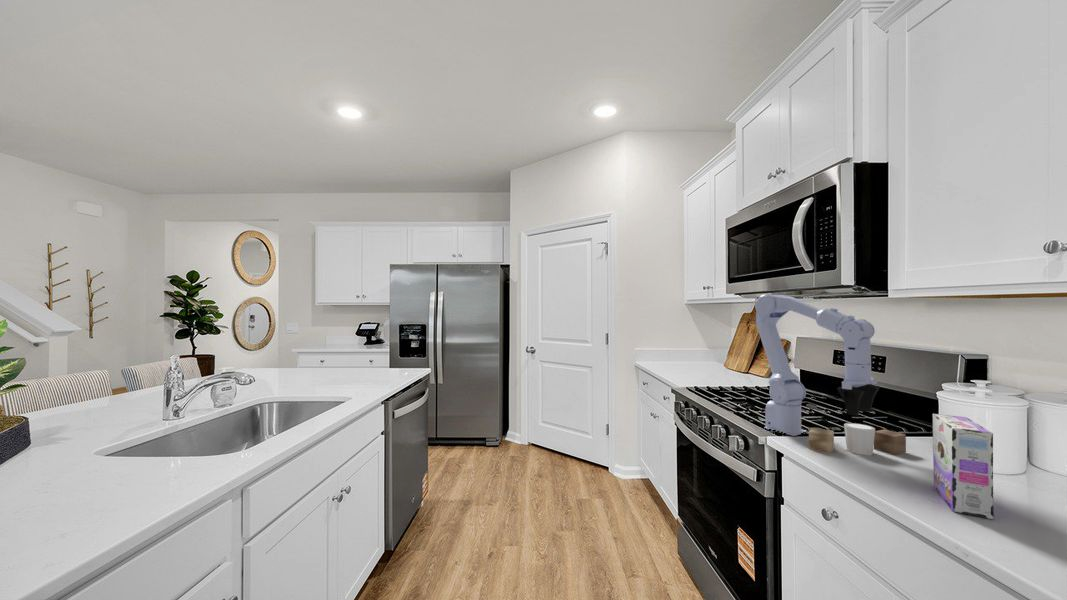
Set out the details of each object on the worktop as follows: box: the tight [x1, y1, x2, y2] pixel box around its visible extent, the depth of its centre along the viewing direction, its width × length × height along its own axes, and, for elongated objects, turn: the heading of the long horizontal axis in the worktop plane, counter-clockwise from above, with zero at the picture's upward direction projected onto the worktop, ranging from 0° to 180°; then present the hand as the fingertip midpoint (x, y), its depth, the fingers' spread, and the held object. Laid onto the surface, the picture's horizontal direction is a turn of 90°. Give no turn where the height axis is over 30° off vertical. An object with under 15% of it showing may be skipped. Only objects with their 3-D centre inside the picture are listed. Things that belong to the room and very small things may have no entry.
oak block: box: [808, 427, 835, 454], centre depth 117 cm, size 5×5×5 cm
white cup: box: [843, 422, 876, 456], centre depth 114 cm, size 7×7×7 cm
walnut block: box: [873, 429, 907, 456], centre depth 115 cm, size 5×5×5 cm
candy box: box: [931, 413, 995, 520], centre depth 85 cm, size 14×6×16 cm, turn 148°
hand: (859, 413), depth 114 cm, fingers open, 7 cm apart
